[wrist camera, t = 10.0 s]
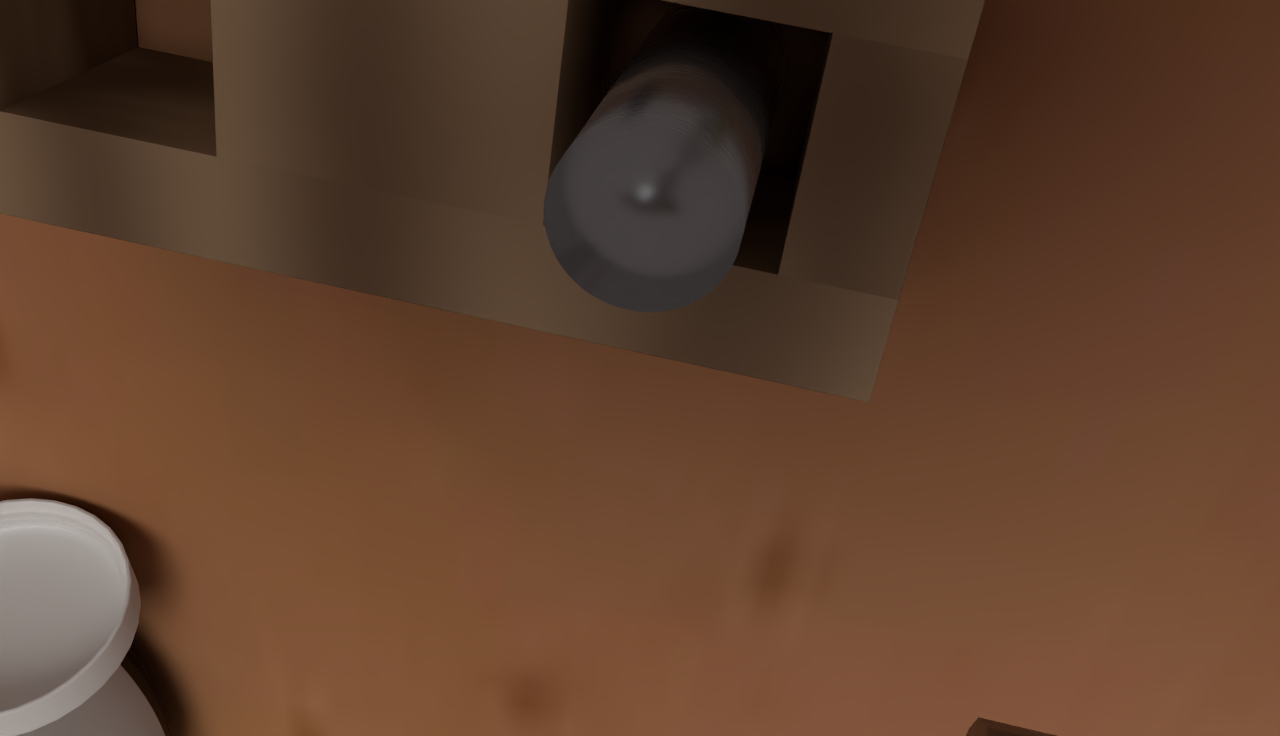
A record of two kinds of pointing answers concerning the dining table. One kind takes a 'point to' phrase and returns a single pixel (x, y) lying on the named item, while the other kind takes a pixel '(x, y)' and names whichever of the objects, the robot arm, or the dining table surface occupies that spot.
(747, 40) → the peg
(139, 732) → the spread jar
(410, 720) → the dining table surface
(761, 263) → the block
